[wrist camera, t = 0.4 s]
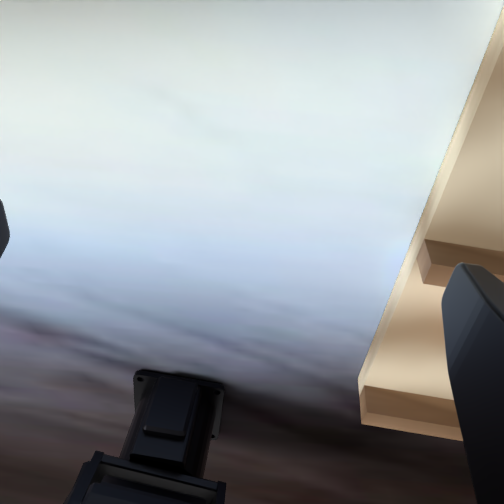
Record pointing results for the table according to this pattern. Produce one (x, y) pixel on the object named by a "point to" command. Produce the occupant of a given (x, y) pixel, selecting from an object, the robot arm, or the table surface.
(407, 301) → the ledge
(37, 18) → the table surface
